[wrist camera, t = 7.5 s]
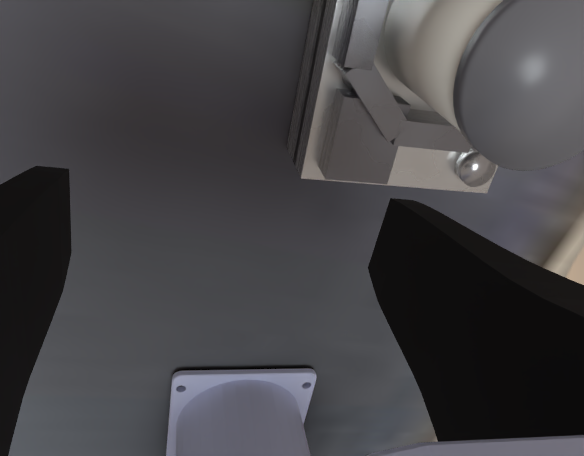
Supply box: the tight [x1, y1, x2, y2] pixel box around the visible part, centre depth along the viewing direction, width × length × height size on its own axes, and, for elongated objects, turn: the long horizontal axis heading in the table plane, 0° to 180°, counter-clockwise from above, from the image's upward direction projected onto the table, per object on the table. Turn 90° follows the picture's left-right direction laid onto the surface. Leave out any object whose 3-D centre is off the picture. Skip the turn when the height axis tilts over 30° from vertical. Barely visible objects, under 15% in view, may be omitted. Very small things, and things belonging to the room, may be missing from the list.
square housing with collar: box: [287, 0, 498, 193], centre depth 18 cm, size 10×8×4 cm
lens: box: [384, 0, 584, 171], centre depth 14 cm, size 5×5×6 cm
